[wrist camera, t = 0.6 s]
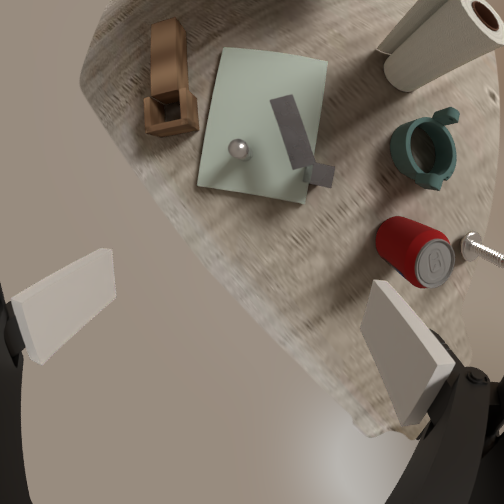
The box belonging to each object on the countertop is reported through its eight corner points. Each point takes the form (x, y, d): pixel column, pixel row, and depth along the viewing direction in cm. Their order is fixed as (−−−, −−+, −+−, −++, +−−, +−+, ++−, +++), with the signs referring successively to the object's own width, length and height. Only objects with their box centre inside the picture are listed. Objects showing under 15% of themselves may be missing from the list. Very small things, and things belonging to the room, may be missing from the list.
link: (157, 39, 30) (144, 26, 25) (193, 30, 29) (183, 15, 24) (161, 137, 34) (145, 133, 29) (199, 130, 34) (187, 123, 29)
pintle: (238, 144, 33) (229, 137, 26) (254, 147, 33) (249, 140, 26) (235, 160, 33) (226, 156, 27) (251, 162, 33) (245, 159, 27)
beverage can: (380, 268, 37) (416, 304, 25) (367, 225, 35) (404, 247, 24) (418, 250, 35) (462, 279, 24) (407, 208, 34) (454, 223, 22)
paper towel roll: (422, 94, 29) (518, 52, 8) (387, 91, 30) (477, 33, 9) (410, 52, 27) (488, -8, 7) (376, 48, 28) (444, -29, 7)
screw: (478, 242, 34) (462, 263, 35) (467, 222, 33) (450, 243, 34) (528, 266, 21) (510, 293, 23) (520, 241, 21) (502, 270, 22)
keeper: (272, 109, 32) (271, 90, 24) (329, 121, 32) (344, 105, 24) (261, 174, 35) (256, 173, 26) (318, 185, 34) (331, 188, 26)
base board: (225, 50, 30) (223, 47, 29) (326, 64, 30) (327, 61, 28) (199, 185, 36) (196, 185, 34) (303, 203, 35) (304, 204, 34)
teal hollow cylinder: (400, 188, 33) (433, 194, 25) (380, 125, 31) (410, 113, 23) (446, 174, 32) (482, 177, 23) (429, 115, 30) (463, 105, 21)
